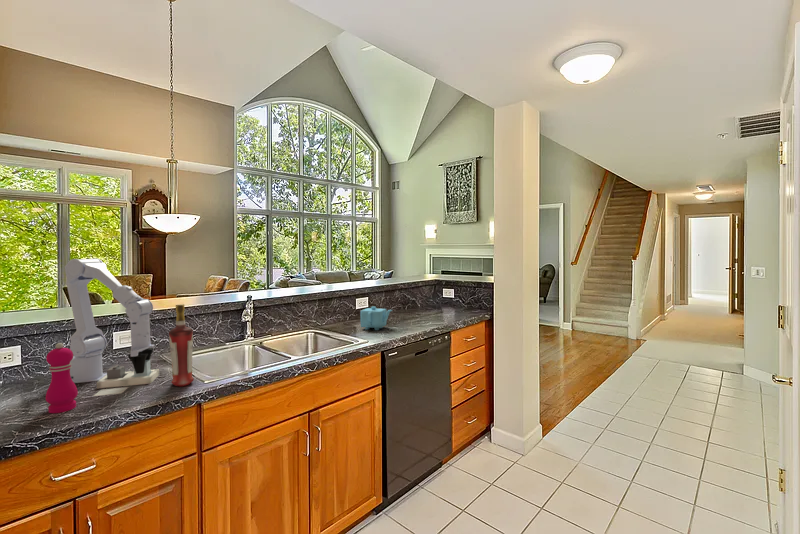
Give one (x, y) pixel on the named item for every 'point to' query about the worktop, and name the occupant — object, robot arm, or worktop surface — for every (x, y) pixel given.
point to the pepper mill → (61, 381)
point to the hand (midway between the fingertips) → (142, 371)
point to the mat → (111, 391)
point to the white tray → (124, 378)
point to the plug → (146, 370)
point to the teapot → (374, 318)
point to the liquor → (181, 350)
